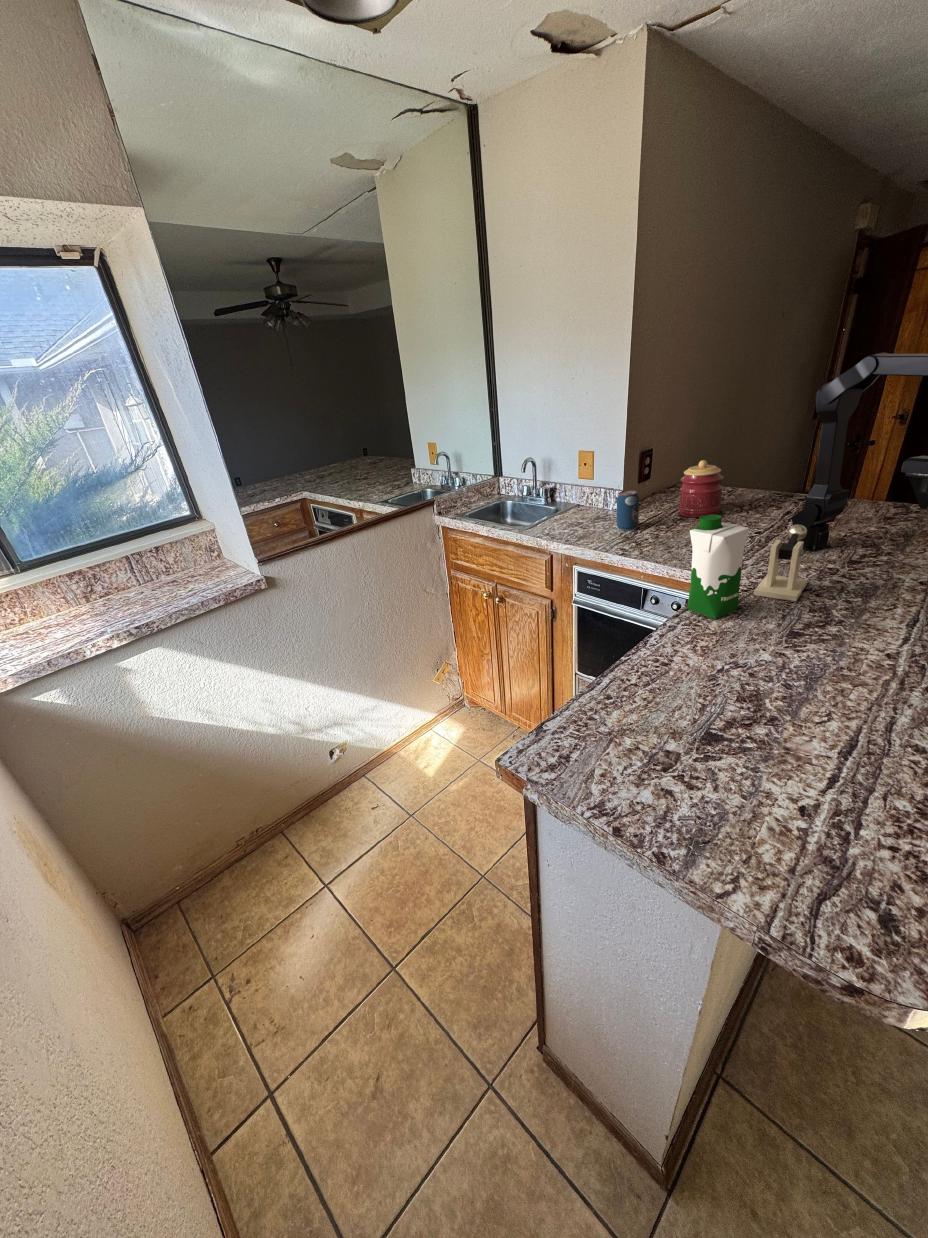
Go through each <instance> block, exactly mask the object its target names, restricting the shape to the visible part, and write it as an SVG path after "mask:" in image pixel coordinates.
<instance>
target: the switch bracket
mask: <svg viewBox="0 0 928 1238" xmlns="http://www.w3.org/2000/svg"><path fill="white" fill-rule="evenodd" d="M782 542H783V540H782V539H776V540H775V541H774V542H773V544H771V546H770V547H769V560H768V566H767V567H768V568H767V574H766V575H765V576H764V578H763V579H762V580H761V581H760V583H759V584H758V585H757V586H756V587H755V589H754V591H753V596H759V597H765V598H771V599H777V600H779V599H780V600H785V601H792V602H797V601H798V599H799V598H800V596H801V594H802V593H803V591H804V590H805V588H806V587H807V584H808V579H806V578H799V573H800V566H801V560H802V557H803V556H804V553H805V552H804V551H805V550H804V549H803V544H804V542H802V541H798V542H797V544H796V545H795V546H794V548H793V553H792V557H791V559H790V567H789V572H788V576H781V575H778V569H779V562H780V559H778V556H779V549H780V547H781V546H782V544H783V543H782Z"/></svg>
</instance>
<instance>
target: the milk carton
mask: <svg viewBox="0 0 928 1238" xmlns="http://www.w3.org/2000/svg"><path fill="white" fill-rule="evenodd" d="M749 532H750V527H749V526H742V525H738V524H736V523H729V522H723V516H722V515H719V514H716V515H703V516H701V517H699V523H698V526H697V527H694V528H693V529H690V530H689V535H690V542H691V548H692V553H691V555H692V556H691V569H690V571H691V572H690V584H689V585H690V587H689V593H688V600H687V607H686V609H687V610H689V611H692V612H695V613H698V614H701V615H703V616H705V617H709V618H711V619H714V620H717V619H720V618H721V617H724V616H727V615H728V614H730V613H732V612H735V611H736V610H739V602H740V601H739V599H740V586H741V577H742V570H743V561H744V552H745V547H746V543H747V539H748V536H749Z"/></svg>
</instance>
